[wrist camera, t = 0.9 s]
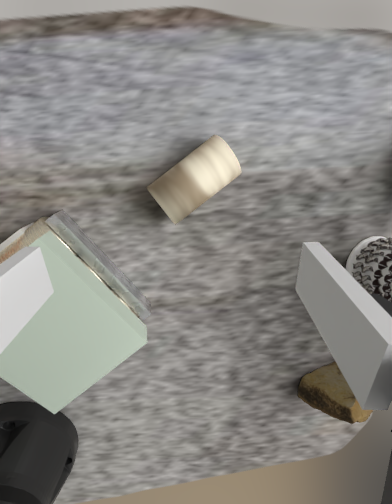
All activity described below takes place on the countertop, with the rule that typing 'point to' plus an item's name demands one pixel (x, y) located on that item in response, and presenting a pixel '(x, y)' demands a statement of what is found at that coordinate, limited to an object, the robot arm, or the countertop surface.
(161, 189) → the roller
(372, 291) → the decorative candle
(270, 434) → the countertop surface
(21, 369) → the slab
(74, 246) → the roller bed
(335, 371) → the rock
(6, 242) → the roller cradle
